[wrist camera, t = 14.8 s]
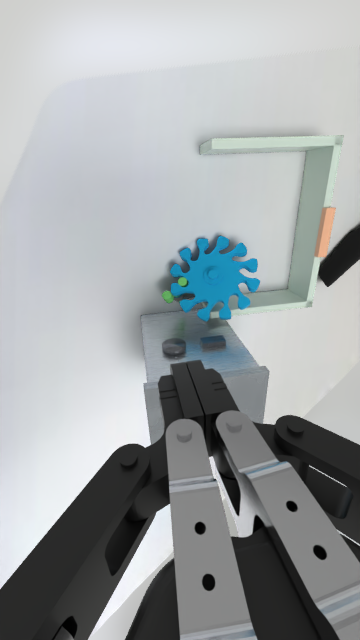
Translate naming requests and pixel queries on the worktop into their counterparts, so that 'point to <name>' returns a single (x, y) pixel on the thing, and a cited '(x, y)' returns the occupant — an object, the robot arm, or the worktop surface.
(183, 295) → the gear
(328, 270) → the electric trimmer
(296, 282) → the bay
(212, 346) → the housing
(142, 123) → the worktop surface
